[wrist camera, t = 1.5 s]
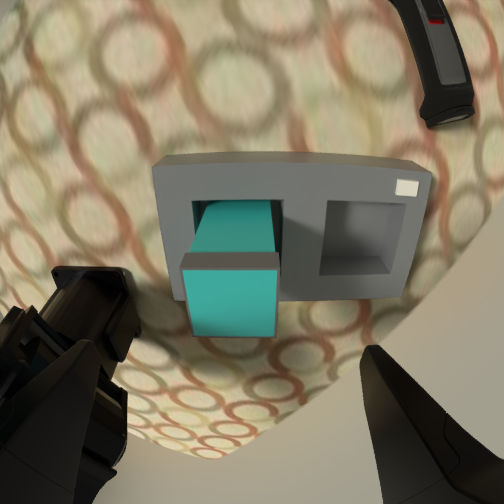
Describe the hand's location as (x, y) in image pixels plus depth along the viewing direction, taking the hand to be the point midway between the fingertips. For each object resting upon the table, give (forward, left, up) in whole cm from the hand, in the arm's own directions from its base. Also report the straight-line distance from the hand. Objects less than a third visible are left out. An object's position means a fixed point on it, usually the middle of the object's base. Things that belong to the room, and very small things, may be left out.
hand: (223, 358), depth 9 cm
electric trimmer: (+9, +14, -11) cm, 20 cm away
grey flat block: (+3, 0, -10) cm, 10 cm away
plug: (0, 0, -9) cm, 9 cm away
